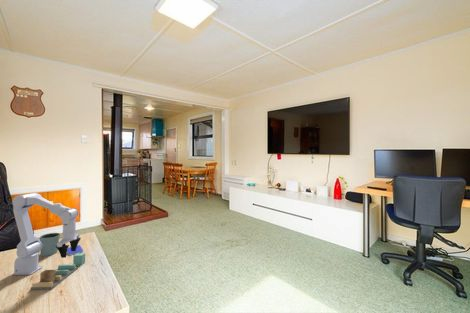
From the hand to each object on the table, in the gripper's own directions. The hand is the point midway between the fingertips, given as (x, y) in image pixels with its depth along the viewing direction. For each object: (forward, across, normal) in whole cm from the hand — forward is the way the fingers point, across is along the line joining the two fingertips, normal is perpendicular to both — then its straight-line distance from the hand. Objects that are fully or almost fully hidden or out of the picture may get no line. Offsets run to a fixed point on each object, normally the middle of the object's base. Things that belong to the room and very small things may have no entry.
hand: (68, 254), depth 119 cm
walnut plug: (+9, -13, +1) cm, 15 cm away
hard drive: (+11, +26, +14) cm, 31 cm away
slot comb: (+10, -7, +1) cm, 12 cm away
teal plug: (+10, +8, -1) cm, 13 cm away
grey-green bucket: (+10, +22, +28) cm, 37 cm away
